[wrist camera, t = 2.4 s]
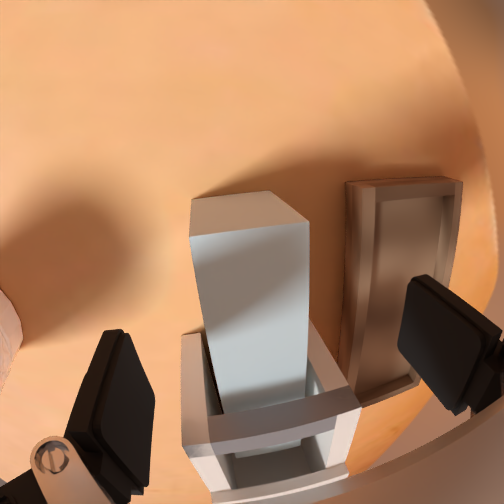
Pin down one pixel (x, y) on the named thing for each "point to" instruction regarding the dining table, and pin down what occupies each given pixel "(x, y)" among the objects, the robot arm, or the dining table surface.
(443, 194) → the tray
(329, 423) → the dispenser
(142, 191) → the dining table surface
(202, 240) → the white rectangular block
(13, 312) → the white cup
